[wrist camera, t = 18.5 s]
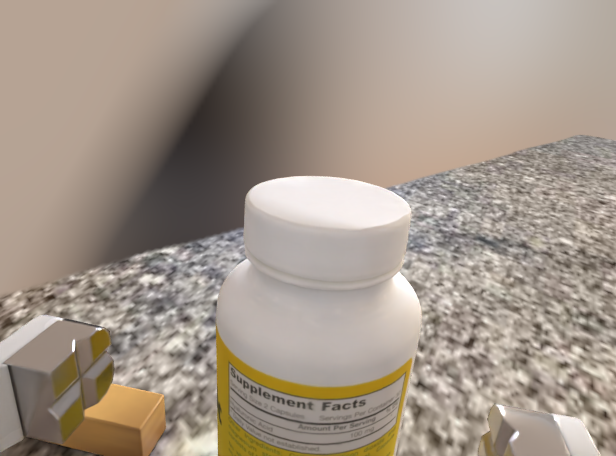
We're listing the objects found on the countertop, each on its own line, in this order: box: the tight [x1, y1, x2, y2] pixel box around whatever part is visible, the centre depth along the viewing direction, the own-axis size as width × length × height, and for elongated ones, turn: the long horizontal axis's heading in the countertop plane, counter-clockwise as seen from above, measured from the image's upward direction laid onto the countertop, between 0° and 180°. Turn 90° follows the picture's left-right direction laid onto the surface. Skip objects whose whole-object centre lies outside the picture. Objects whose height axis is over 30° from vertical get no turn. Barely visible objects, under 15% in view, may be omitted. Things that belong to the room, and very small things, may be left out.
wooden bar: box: [37, 384, 166, 456], centre depth 15 cm, size 10×2×2 cm, turn 79°
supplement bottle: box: [216, 176, 422, 456], centre depth 12 cm, size 5×5×10 cm
